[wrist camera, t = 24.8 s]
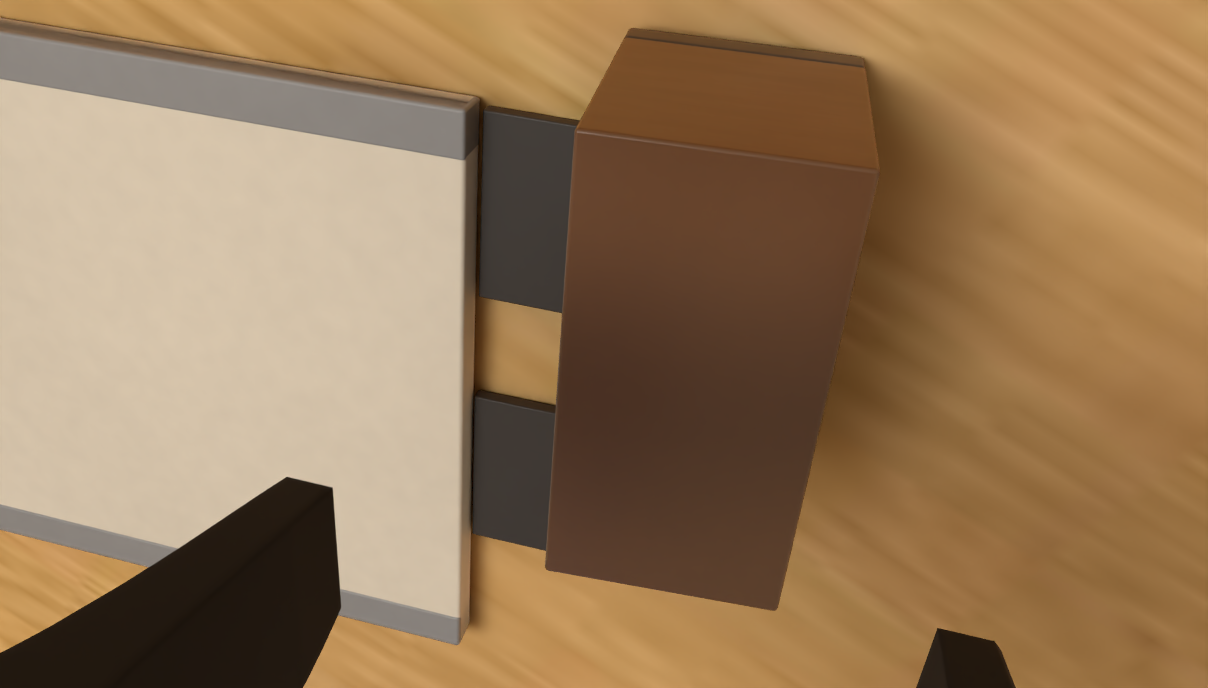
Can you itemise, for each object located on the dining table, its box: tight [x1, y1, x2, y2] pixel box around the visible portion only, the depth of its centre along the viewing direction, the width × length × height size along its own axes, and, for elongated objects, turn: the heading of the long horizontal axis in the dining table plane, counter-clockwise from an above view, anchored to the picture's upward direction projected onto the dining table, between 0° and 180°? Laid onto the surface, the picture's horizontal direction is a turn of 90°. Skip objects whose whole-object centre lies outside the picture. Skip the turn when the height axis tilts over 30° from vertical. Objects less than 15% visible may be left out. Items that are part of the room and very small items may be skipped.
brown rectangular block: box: [545, 28, 880, 611], centre depth 18 cm, size 8×4×5 cm, turn 175°
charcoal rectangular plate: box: [472, 390, 556, 551], centre depth 24 cm, size 4×3×1 cm
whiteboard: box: [0, 18, 479, 645], centre depth 25 cm, size 14×20×1 cm
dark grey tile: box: [479, 106, 580, 313], centre depth 21 cm, size 4×3×1 cm
